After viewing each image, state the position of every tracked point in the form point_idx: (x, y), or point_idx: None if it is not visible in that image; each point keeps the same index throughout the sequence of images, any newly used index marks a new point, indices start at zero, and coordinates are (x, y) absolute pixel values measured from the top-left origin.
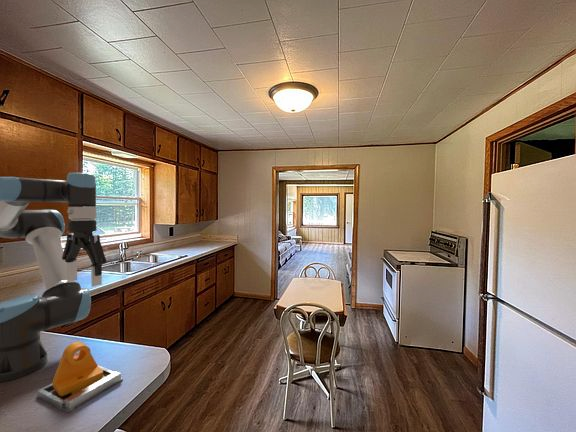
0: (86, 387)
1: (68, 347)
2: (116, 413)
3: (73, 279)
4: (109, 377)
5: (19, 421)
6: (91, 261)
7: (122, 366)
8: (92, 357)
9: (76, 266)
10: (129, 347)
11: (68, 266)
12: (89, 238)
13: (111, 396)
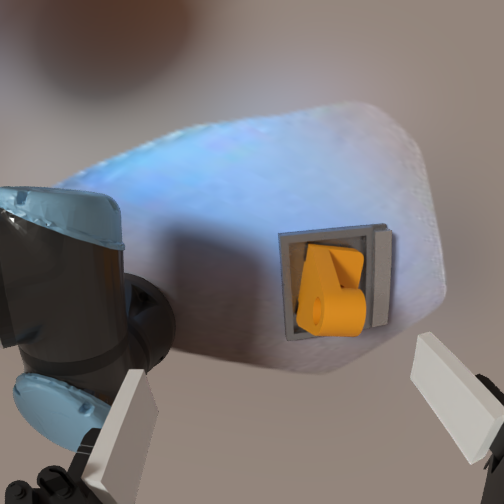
0: (374, 292)
1: (327, 334)
2: (444, 277)
3: (147, 393)
4: (384, 251)
5: (330, 363)
6: (487, 487)
7: (334, 191)
8: (334, 268)
9: (114, 446)
10: (253, 123)
11: (136, 492)
12: None
13: (407, 261)
